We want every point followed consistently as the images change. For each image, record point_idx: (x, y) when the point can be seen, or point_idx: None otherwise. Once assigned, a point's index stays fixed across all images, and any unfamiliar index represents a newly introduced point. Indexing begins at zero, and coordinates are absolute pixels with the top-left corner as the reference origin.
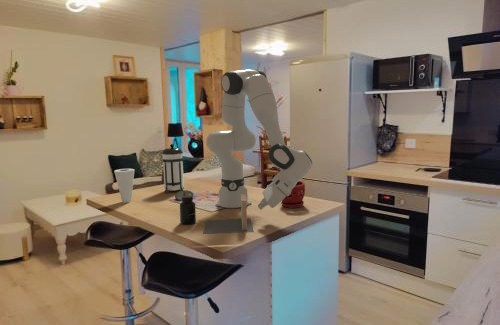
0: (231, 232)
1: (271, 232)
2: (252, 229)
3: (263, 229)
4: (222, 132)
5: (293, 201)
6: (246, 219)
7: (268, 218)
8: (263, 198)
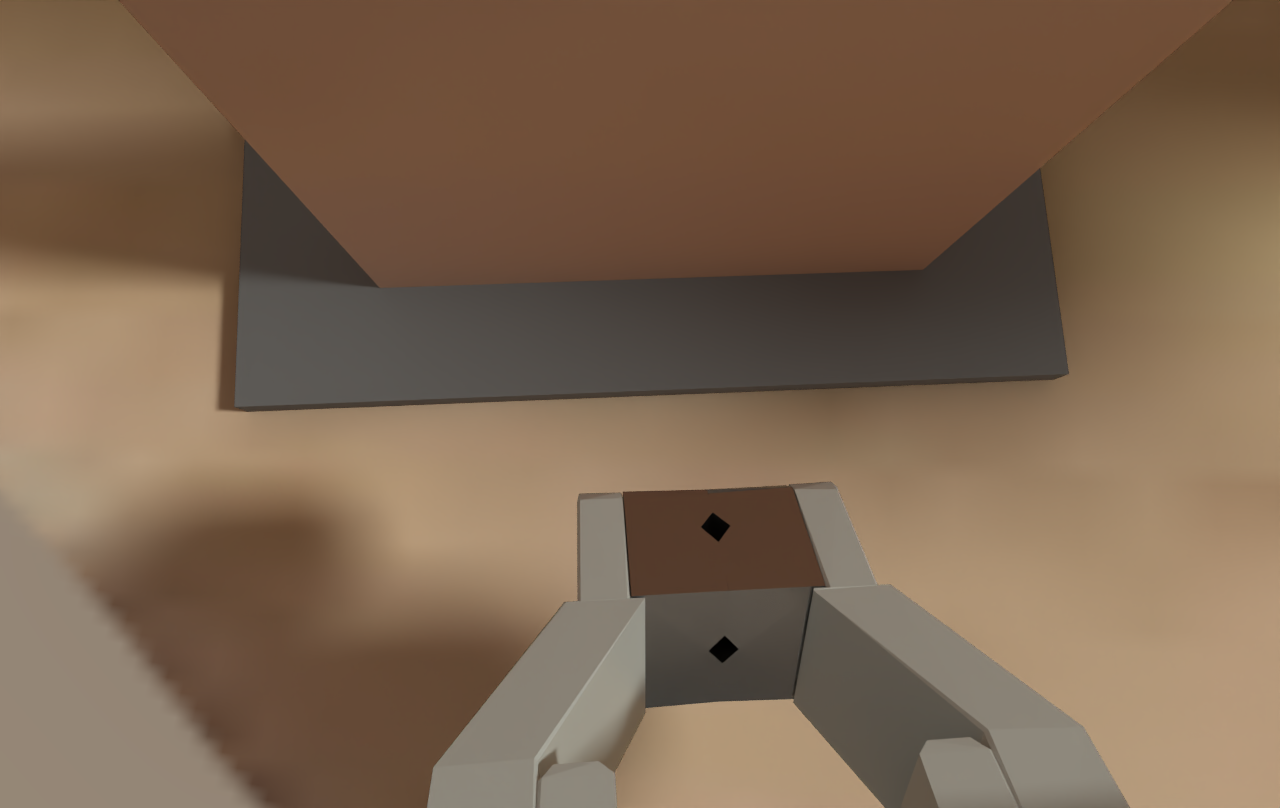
0: None
1: (248, 757)
2: (372, 388)
3: (444, 603)
4: None
5: None
6: (309, 201)
7: (1144, 740)
8: (1039, 785)
